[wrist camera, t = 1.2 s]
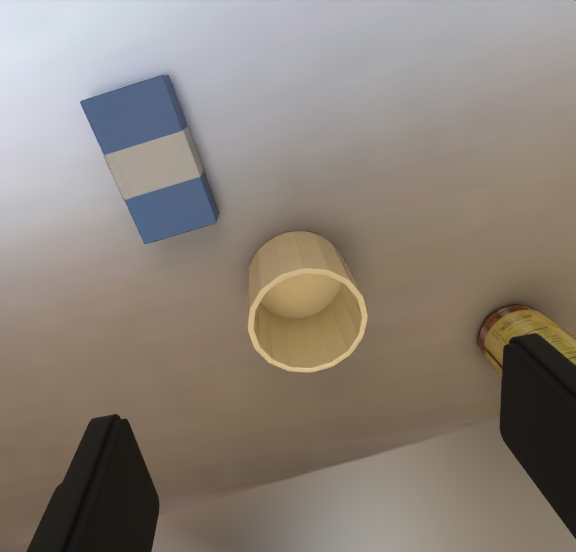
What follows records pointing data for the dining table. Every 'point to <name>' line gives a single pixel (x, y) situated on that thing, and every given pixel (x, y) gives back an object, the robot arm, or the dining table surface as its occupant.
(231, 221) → the dining table surface
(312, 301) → the beige cup
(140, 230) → the block
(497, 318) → the sauce bottle
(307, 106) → the dining table surface
